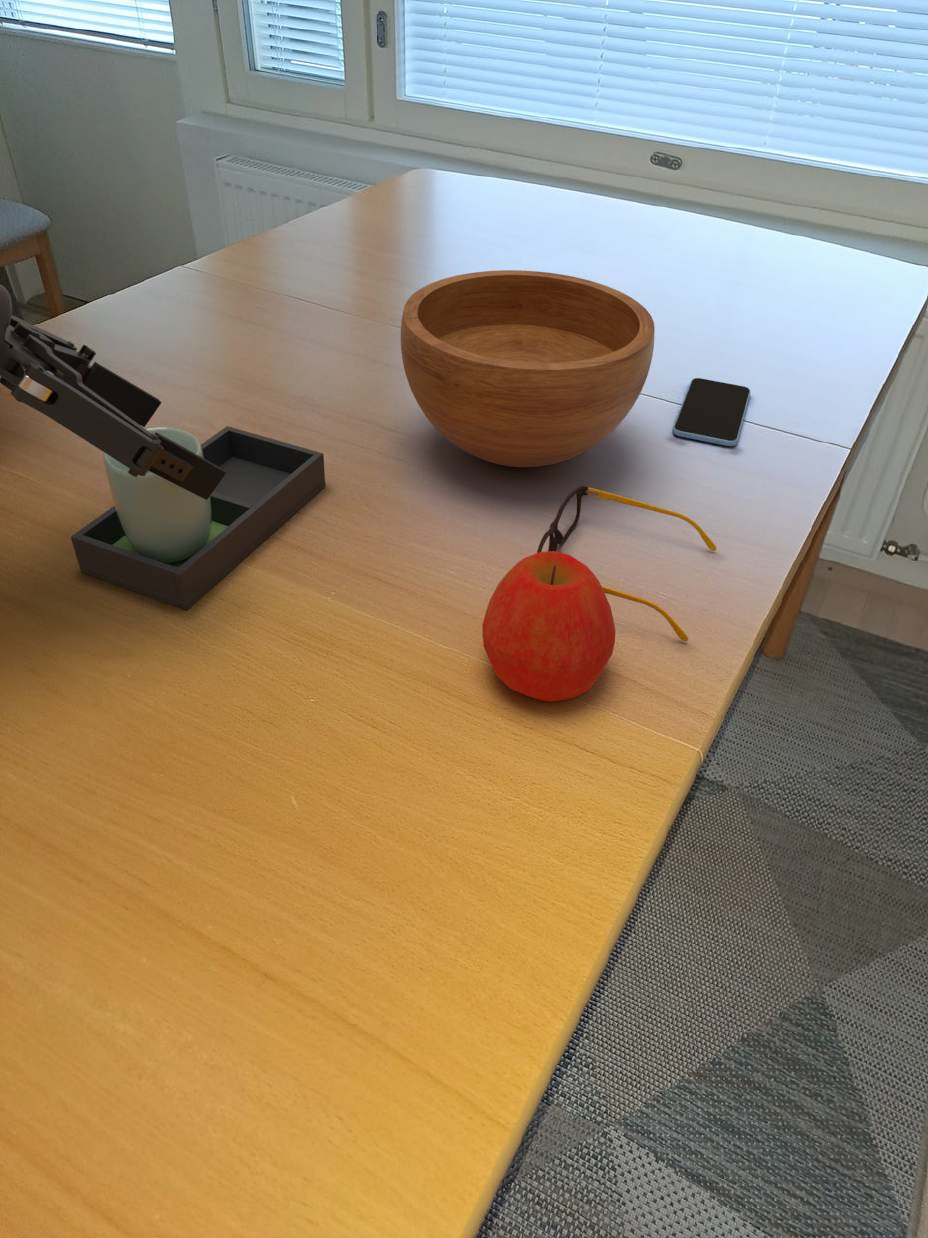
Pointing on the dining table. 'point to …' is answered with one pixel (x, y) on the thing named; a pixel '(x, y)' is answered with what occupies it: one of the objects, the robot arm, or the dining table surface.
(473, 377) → the bowl
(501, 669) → the apple
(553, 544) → the eyeglasses
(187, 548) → the cup
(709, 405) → the smartphone
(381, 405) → the dining table surface
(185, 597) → the holder
